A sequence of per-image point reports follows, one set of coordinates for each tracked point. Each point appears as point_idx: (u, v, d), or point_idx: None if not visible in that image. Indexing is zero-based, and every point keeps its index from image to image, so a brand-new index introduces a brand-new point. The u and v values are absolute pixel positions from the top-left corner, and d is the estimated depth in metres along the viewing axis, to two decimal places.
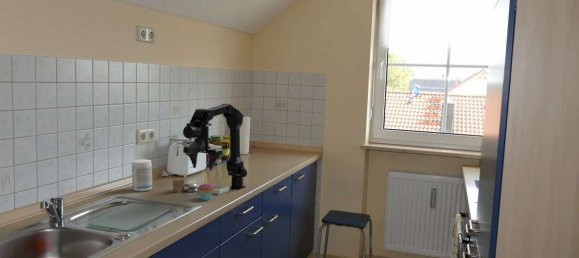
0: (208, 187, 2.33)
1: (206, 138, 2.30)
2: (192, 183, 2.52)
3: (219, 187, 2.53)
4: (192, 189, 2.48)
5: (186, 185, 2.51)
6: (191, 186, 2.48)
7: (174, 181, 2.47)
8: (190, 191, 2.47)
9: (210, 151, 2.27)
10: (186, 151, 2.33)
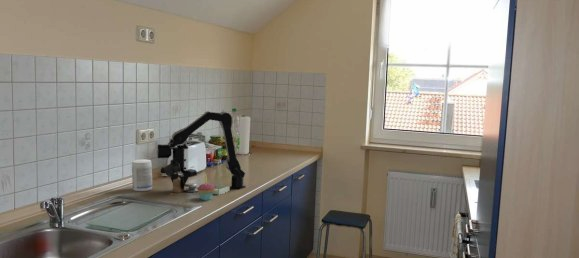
0: (208, 187, 2.33)
1: (182, 159, 2.45)
2: (192, 183, 2.52)
3: (219, 187, 2.53)
4: (192, 189, 2.48)
5: (186, 185, 2.51)
6: (191, 186, 2.48)
7: (174, 181, 2.47)
8: (190, 191, 2.47)
9: (185, 172, 2.42)
10: (163, 171, 2.48)
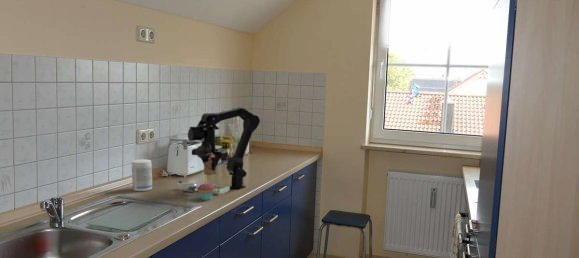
0: (208, 187, 2.33)
1: (213, 141, 2.44)
2: (192, 183, 2.52)
3: (219, 187, 2.53)
4: (192, 189, 2.48)
5: (186, 185, 2.51)
6: (191, 186, 2.48)
7: (205, 163, 2.46)
8: (190, 191, 2.47)
9: (216, 153, 2.41)
10: (194, 153, 2.48)
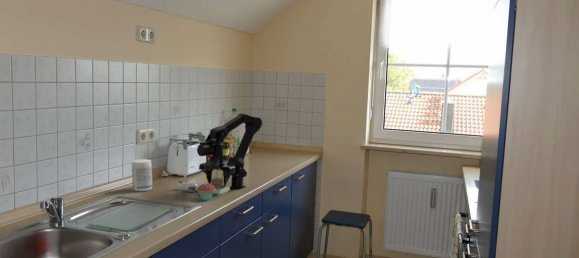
0: (208, 187, 2.33)
1: (221, 156, 2.45)
2: (192, 183, 2.52)
3: None
4: (192, 189, 2.48)
5: (186, 185, 2.51)
6: (191, 186, 2.48)
7: (213, 180, 2.47)
8: (190, 191, 2.47)
9: (224, 168, 2.42)
10: (202, 168, 2.49)
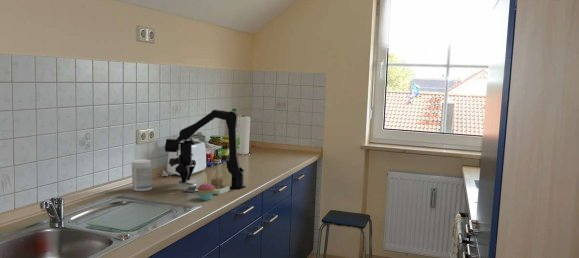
0: (208, 187, 2.33)
1: (183, 154, 2.55)
2: (192, 183, 2.52)
3: None
4: (192, 189, 2.48)
5: (186, 185, 2.50)
6: (191, 186, 2.48)
7: (213, 180, 2.47)
8: (190, 191, 2.47)
9: (177, 166, 2.52)
10: None
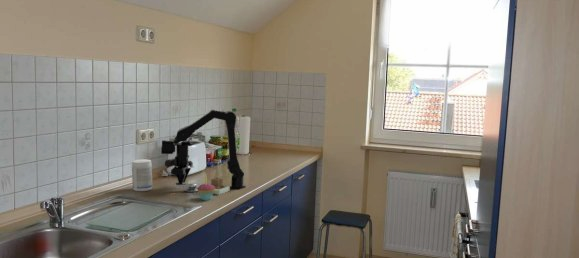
0: (208, 187, 2.33)
1: (179, 156, 2.48)
2: None
3: None
4: (192, 189, 2.48)
5: (186, 186, 2.49)
6: (193, 186, 2.48)
7: (213, 180, 2.47)
8: (190, 191, 2.47)
9: None
10: None
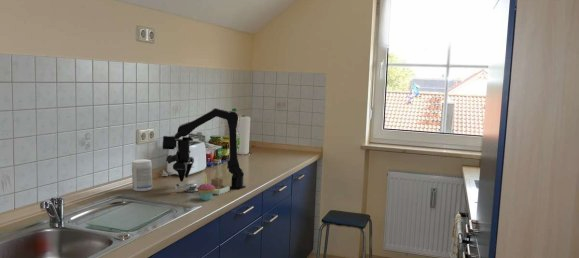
0: (208, 187, 2.33)
1: (181, 151, 2.49)
2: None
3: None
4: (192, 189, 2.48)
5: (187, 186, 2.48)
6: (195, 186, 2.49)
7: (213, 180, 2.47)
8: (190, 191, 2.47)
9: None
10: None
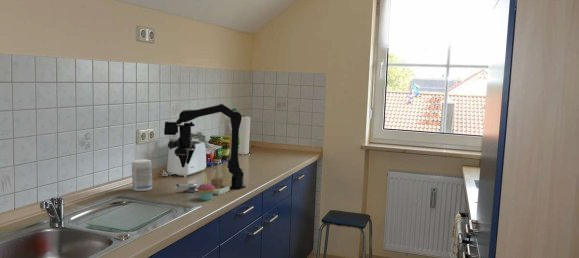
0: (208, 187, 2.33)
1: (182, 137, 2.49)
2: None
3: None
4: (192, 189, 2.48)
5: (187, 186, 2.48)
6: (195, 186, 2.49)
7: (213, 180, 2.47)
8: (190, 191, 2.47)
9: None
10: None
